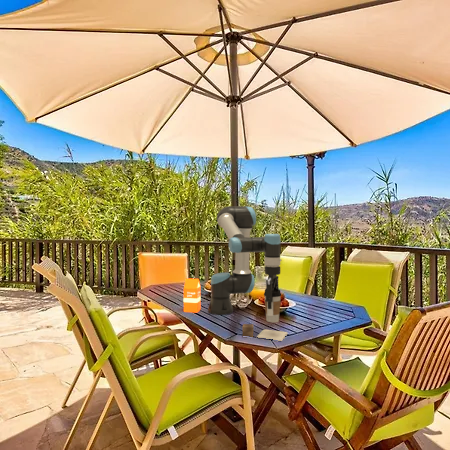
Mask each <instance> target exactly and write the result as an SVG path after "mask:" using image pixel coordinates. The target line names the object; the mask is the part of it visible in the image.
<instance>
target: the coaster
mask: <svg viewBox="0 0 450 450" xmlns="http://www.w3.org/2000/svg"><path fill="white" fill-rule="evenodd" d="M287 335H288V332H287V331H281V330H274V329H263V330H262V331H261V332H260V333H258V334H257V336H256V338H257V337H258V338H266V339H273V340H278V341H282V340H283V339H284V340H285V338H286V337H287ZM285 336H286V337H285ZM284 340H283V341H284ZM278 341H277V342H278ZM283 341H282V342H283Z"/></svg>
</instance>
